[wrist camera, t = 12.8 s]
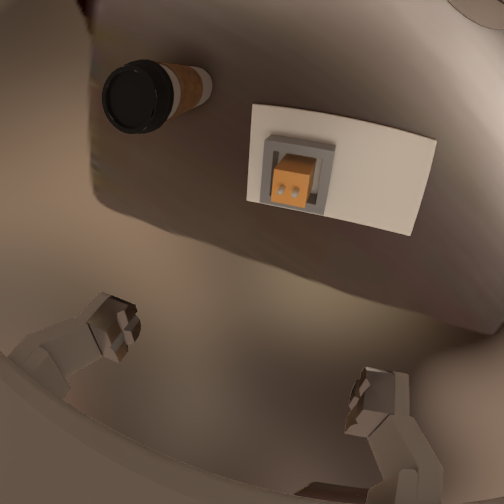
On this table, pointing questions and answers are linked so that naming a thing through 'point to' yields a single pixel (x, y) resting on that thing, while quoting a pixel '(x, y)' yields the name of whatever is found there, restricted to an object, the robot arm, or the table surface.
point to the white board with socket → (343, 165)
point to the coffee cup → (152, 94)
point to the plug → (293, 180)
